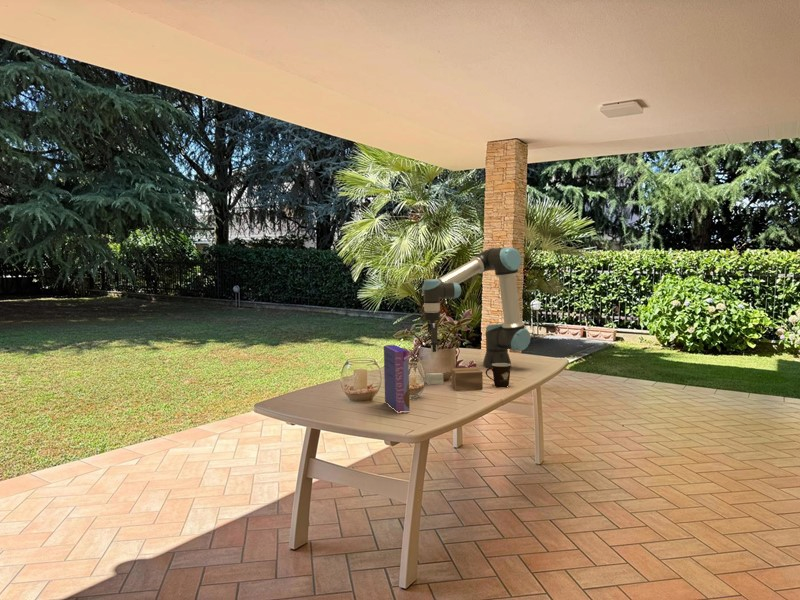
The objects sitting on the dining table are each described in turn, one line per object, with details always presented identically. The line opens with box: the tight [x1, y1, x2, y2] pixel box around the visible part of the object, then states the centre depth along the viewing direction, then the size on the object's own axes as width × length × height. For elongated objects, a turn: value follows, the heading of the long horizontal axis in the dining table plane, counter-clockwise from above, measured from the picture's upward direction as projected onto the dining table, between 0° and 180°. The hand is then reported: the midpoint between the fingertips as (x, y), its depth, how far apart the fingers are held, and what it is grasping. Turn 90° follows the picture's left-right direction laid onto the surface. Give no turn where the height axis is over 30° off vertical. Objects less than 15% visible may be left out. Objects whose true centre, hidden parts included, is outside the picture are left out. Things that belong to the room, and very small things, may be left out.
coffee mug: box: [485, 363, 512, 388], centre depth 256 cm, size 12×9×10 cm
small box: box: [425, 372, 444, 385], centre depth 266 cm, size 8×8×5 cm
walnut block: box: [451, 366, 484, 392], centre depth 255 cm, size 12×12×8 cm
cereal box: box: [383, 344, 411, 412], centre depth 221 cm, size 17×5×24 cm, turn 18°
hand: (432, 356), depth 265 cm, fingers open, 13 cm apart
